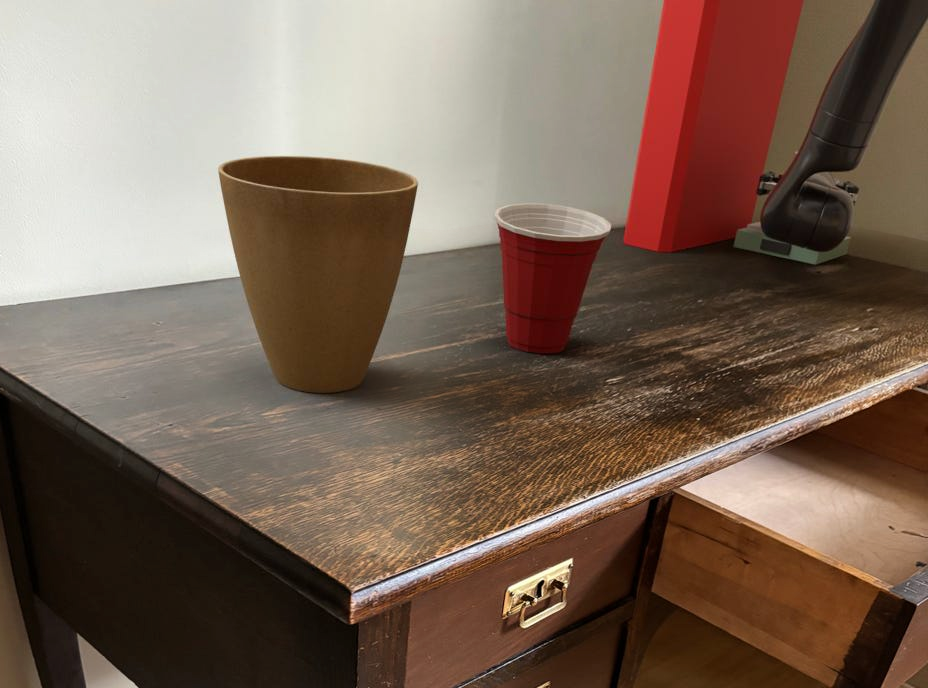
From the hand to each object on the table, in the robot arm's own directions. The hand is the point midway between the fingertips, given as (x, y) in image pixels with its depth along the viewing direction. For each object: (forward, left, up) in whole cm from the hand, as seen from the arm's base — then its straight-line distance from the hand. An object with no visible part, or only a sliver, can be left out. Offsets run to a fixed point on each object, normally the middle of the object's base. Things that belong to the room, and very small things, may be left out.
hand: (806, 182), depth 144 cm
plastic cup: (-5, +77, -10) cm, 78 cm away
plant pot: (+1, +101, -10) cm, 102 cm away
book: (+13, +10, -10) cm, 19 cm away
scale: (-1, +2, -9) cm, 10 cm away
